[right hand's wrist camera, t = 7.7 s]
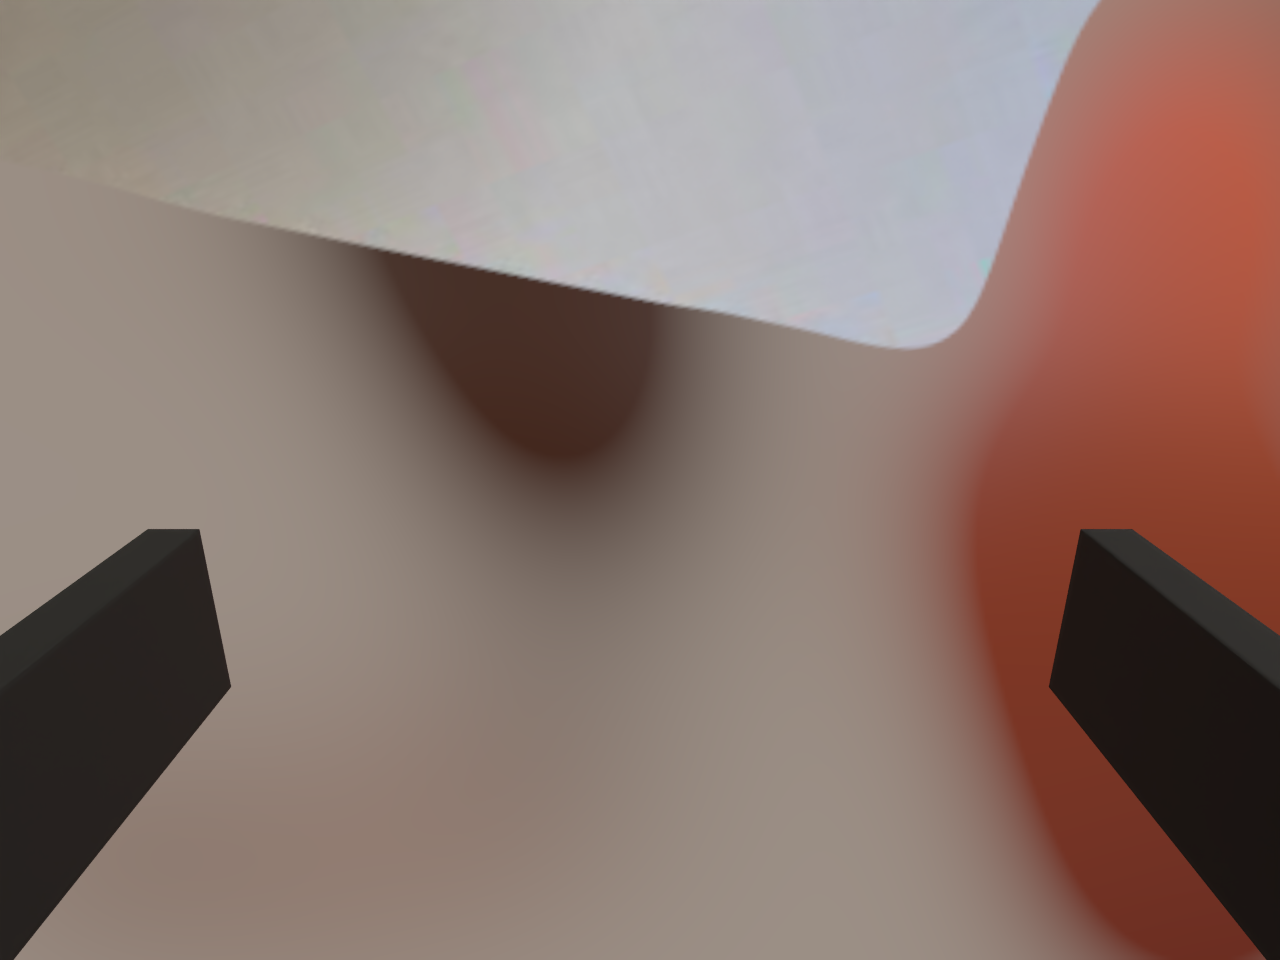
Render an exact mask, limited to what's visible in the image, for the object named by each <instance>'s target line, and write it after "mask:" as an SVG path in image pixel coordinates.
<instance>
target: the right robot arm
mask: <svg viewBox="0 0 1280 960" xmlns="http://www.w3.org/2000/svg"><path fill="white" fill-rule="evenodd" d="M230 687H231V684H230V679H229V674H228V669H227V664H226V659H225V654H224V649H223V644H222V639H221V634H220V629H219V624H218V620H217V615H216V610H215V605H214V600H213V595H212V590H211V585H210V580H209V575H208V570H207V565H206V560H205V555H204V550H203V545H202V540H201V535H200V530H199V529H148V530H146V531H145V532H143V533H142V534H141V535H139V536H138V537H136V538H135V539H134V540H132V541H131V542H130V543H128V544H127V545H125V546H124V547H123V548H121V549H120V550H118V551H117V552H116V553H114V554H113V555H112V556H110V557H109V558H107V559H106V560H105V561H103V562H102V563H100V564H99V565H98V566H96V567H95V568H94V569H92V570H91V571H89V572H88V573H87V574H85V575H84V576H82V577H81V578H80V579H78V580H77V581H76V582H74V583H73V584H71V585H70V586H69V587H67V588H66V589H64V590H63V591H62V592H60V593H59V594H58V595H56V596H55V597H53V598H52V599H51V600H49V601H48V602H46V603H45V604H44V605H42V606H41V607H39V608H38V609H37V610H35V611H34V612H33V613H31V614H30V615H28V616H27V617H26V618H24V619H23V620H22V621H20V622H19V623H17V624H16V625H15V626H13V627H12V628H10V629H9V630H8V631H6V632H5V633H4V634H2V635H1V636H0V960H14V958H15V957H16V956H17V955H18V953H19V952H20V951H21V950H22V948H23V947H24V946H25V945H26V943H27V942H28V941H29V940H30V938H31V937H32V936H33V935H34V933H35V932H36V931H37V930H38V928H39V927H40V926H41V925H42V923H43V922H44V921H45V920H46V918H47V917H48V916H49V915H50V913H51V912H52V911H53V910H54V908H55V907H56V906H57V905H58V903H59V902H60V901H61V900H62V898H63V897H64V896H65V895H66V893H67V892H68V891H69V889H70V888H71V887H72V886H73V884H74V883H75V882H76V881H77V879H78V878H79V877H80V876H81V874H82V873H83V872H84V871H85V869H86V868H87V867H88V866H89V864H90V863H91V862H92V861H93V859H94V858H95V857H96V856H97V854H98V853H99V852H100V851H101V849H102V848H103V847H104V846H105V844H106V843H107V842H108V841H109V839H110V838H111V837H112V835H113V834H114V833H115V832H116V831H117V829H118V828H119V827H120V825H121V824H122V823H123V822H124V820H125V819H126V818H127V817H128V815H129V814H130V813H131V812H132V810H133V809H134V808H135V807H136V805H137V804H138V803H139V802H140V800H141V799H142V798H143V797H144V795H145V794H146V793H147V792H148V790H149V789H150V788H151V787H152V785H153V784H154V783H155V782H156V780H157V779H158V778H159V777H160V775H161V774H162V773H163V771H164V770H165V769H166V768H167V767H168V765H169V764H170V763H171V762H172V760H173V759H174V758H175V757H176V755H177V754H178V753H179V752H180V750H181V749H182V748H183V746H184V745H185V744H186V743H187V741H188V740H189V739H190V738H191V736H192V735H193V734H194V733H195V731H196V730H197V729H198V728H199V726H200V725H201V724H202V723H203V721H204V720H205V719H206V718H207V716H208V715H209V714H210V713H211V711H212V710H213V709H214V708H215V706H216V705H217V704H218V703H219V701H220V700H221V699H222V698H223V696H224V695H225V694H226V692H227V691H228V690H229V689H230ZM1049 688H1050V689H1051V690H1052V691H1053V693H1054V694H1055V695H1056V696H1057V698H1058V699H1059V700H1060V701H1061V703H1062V704H1063V705H1064V706H1065V708H1066V709H1067V710H1068V711H1069V713H1070V714H1071V715H1072V716H1073V718H1074V719H1075V720H1076V721H1077V723H1078V724H1079V725H1080V726H1081V728H1082V729H1083V730H1084V731H1085V733H1086V734H1087V735H1088V736H1089V738H1090V739H1091V740H1092V741H1093V743H1094V744H1095V745H1096V746H1097V748H1098V749H1099V750H1100V752H1101V753H1102V754H1103V755H1104V757H1105V758H1106V759H1107V760H1108V762H1109V763H1110V764H1111V765H1112V767H1113V768H1114V769H1115V770H1116V772H1117V773H1118V774H1119V775H1120V777H1121V778H1122V779H1123V780H1124V782H1125V783H1126V784H1127V785H1128V787H1129V788H1130V789H1131V790H1132V792H1133V793H1134V794H1135V795H1136V797H1137V798H1138V799H1139V800H1140V802H1141V803H1142V804H1143V805H1144V807H1145V808H1146V809H1147V810H1148V812H1149V813H1150V814H1151V815H1152V817H1153V818H1154V819H1155V821H1156V822H1157V823H1158V824H1159V826H1160V827H1161V828H1162V829H1163V831H1164V832H1165V833H1166V834H1167V836H1168V837H1169V838H1170V839H1171V841H1172V842H1173V843H1174V844H1175V846H1176V847H1177V848H1178V849H1179V851H1180V852H1181V853H1182V854H1183V856H1184V857H1185V858H1186V859H1187V861H1188V862H1189V863H1190V864H1191V866H1192V867H1193V868H1194V869H1195V871H1196V872H1197V873H1198V874H1199V876H1200V877H1201V878H1202V879H1203V881H1204V882H1205V883H1206V884H1207V886H1208V887H1209V888H1210V890H1211V891H1212V892H1213V893H1214V894H1215V896H1216V897H1217V898H1218V900H1219V901H1220V902H1221V903H1222V905H1223V906H1224V907H1225V908H1226V910H1227V911H1228V912H1229V913H1230V915H1231V916H1232V917H1233V918H1234V920H1235V921H1236V922H1237V923H1238V925H1239V926H1240V927H1241V928H1242V930H1243V931H1244V932H1245V933H1246V935H1247V936H1248V937H1249V938H1250V940H1251V941H1252V942H1253V943H1254V945H1255V946H1256V947H1257V948H1258V950H1259V951H1260V952H1261V953H1262V955H1263V956H1264V957H1265V958H1266V960H1280V636H1279V635H1278V634H1277V633H1275V632H1274V631H1272V630H1271V629H1270V628H1268V627H1267V626H1265V625H1264V624H1263V623H1261V622H1260V621H1258V620H1257V619H1256V618H1254V617H1253V616H1252V615H1250V614H1249V613H1247V612H1246V611H1245V610H1243V609H1242V608H1240V607H1239V606H1238V605H1236V604H1235V603H1234V602H1232V601H1231V600H1229V599H1228V598H1227V597H1225V596H1224V595H1222V594H1221V593H1220V592H1218V591H1217V590H1216V589H1214V588H1213V587H1211V586H1210V585H1209V584H1207V583H1206V582H1204V581H1203V580H1202V579H1200V578H1199V577H1198V576H1196V575H1195V574H1193V573H1192V572H1191V571H1189V570H1188V569H1186V568H1185V567H1184V566H1182V565H1181V564H1180V563H1178V562H1177V561H1175V560H1174V559H1173V558H1171V557H1170V556H1168V555H1167V554H1166V553H1164V552H1163V551H1162V550H1160V549H1159V548H1157V547H1156V546H1155V545H1153V544H1152V543H1150V542H1149V541H1148V540H1146V539H1145V538H1143V537H1142V536H1141V535H1139V534H1138V533H1137V532H1135V531H1134V530H1132V529H1081V530H1080V535H1079V540H1078V545H1077V550H1076V555H1075V560H1074V565H1073V570H1072V575H1071V580H1070V585H1069V590H1068V595H1067V600H1066V605H1065V610H1064V615H1063V619H1062V624H1061V629H1060V634H1059V639H1058V644H1057V649H1056V654H1055V659H1054V664H1053V669H1052V674H1051V679H1050V684H1049Z"/></svg>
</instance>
